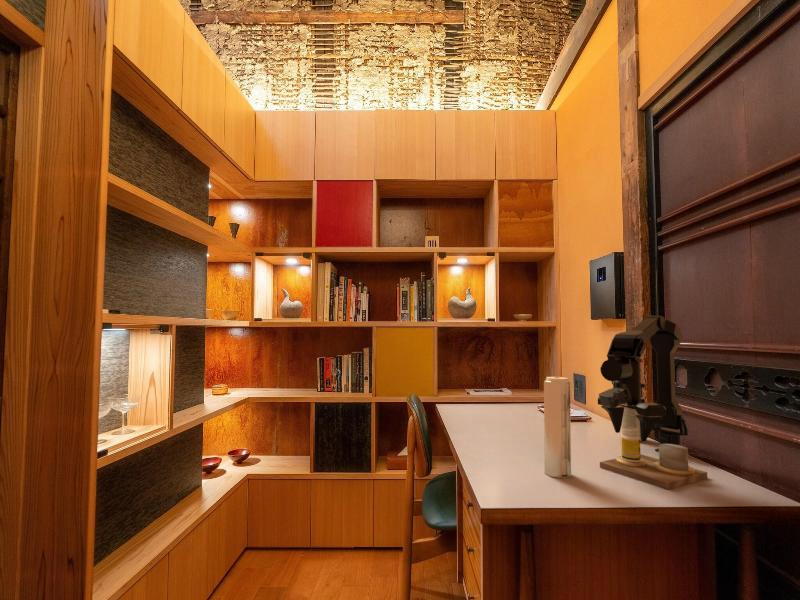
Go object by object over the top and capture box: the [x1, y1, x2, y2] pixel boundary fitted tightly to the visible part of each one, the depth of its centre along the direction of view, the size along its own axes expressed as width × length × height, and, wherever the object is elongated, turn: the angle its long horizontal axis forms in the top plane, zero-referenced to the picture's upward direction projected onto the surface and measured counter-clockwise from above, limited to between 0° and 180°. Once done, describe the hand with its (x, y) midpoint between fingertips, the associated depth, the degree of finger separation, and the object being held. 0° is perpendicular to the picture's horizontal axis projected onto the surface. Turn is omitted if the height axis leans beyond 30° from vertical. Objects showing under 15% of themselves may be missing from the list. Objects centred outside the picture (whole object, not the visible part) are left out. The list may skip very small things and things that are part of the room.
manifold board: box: [599, 443, 708, 490], centre depth 112 cm, size 18×18×7 cm
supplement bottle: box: [620, 427, 641, 462], centre depth 116 cm, size 5×5×8 cm
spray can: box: [621, 388, 644, 442], centre depth 148 cm, size 7×7×20 cm
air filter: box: [543, 376, 572, 479], centre depth 110 cm, size 6×6×25 cm
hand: (630, 436), depth 115 cm, fingers open, 9 cm apart
